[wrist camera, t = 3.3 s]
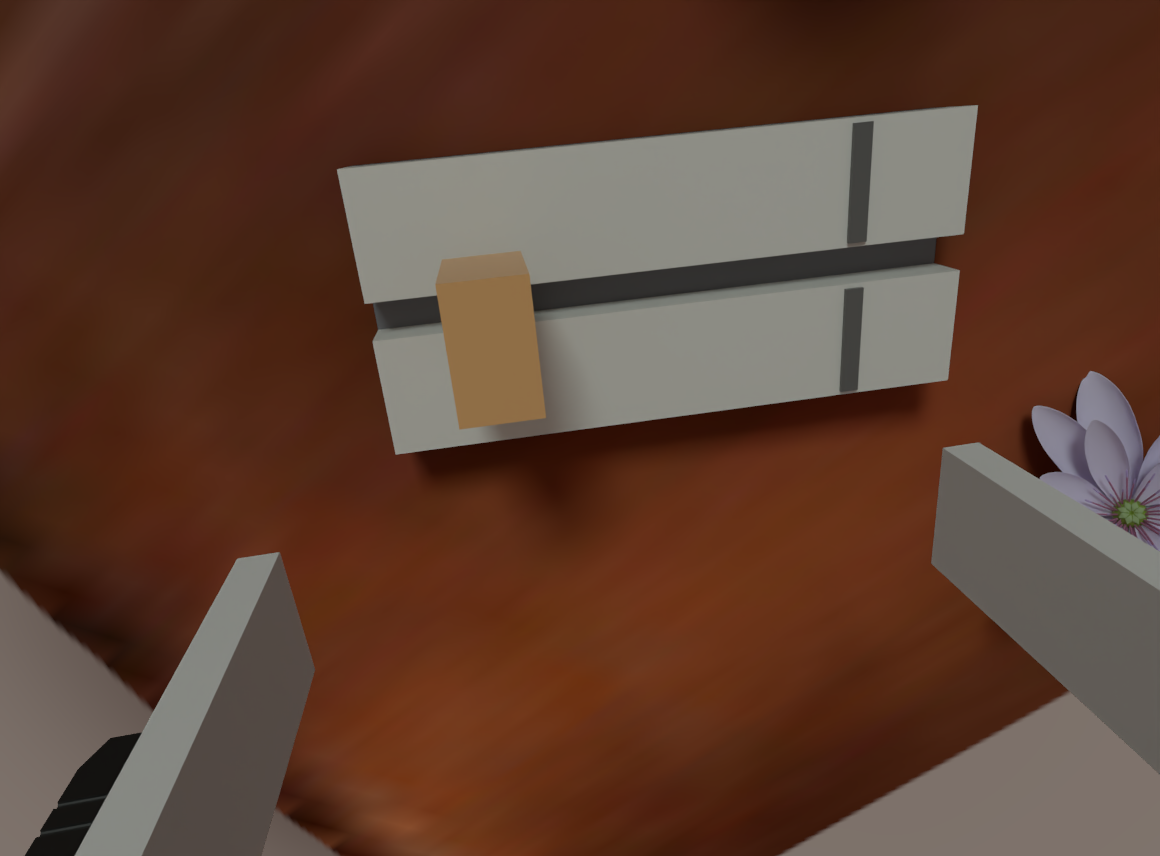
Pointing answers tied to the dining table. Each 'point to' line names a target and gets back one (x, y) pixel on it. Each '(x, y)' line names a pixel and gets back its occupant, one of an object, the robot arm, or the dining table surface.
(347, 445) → the dining table surface
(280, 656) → the robot arm
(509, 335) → the fader knob
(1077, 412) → the water lily
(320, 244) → the dining table surface
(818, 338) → the fader console
